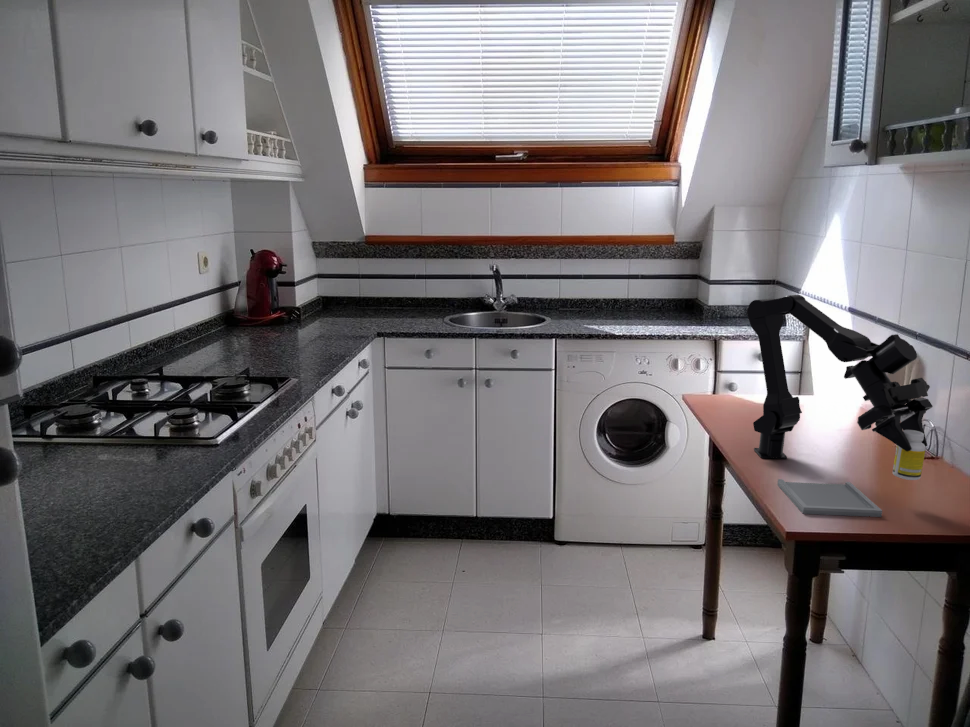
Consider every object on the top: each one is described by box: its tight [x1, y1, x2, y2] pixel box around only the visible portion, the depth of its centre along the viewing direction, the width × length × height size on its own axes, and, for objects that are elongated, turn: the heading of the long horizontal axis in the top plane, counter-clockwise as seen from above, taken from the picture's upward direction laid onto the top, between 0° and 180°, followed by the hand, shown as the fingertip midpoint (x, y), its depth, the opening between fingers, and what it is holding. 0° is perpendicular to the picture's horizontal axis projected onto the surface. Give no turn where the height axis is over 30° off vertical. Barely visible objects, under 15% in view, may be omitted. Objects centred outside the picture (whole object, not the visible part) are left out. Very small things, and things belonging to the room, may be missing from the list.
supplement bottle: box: [892, 430, 927, 481], centre depth 168 cm, size 5×5×10 cm
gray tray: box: [777, 478, 883, 518], centre depth 171 cm, size 16×16×1 cm
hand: (917, 448), depth 167 cm, fingers closed on supplement bottle, 5 cm apart
